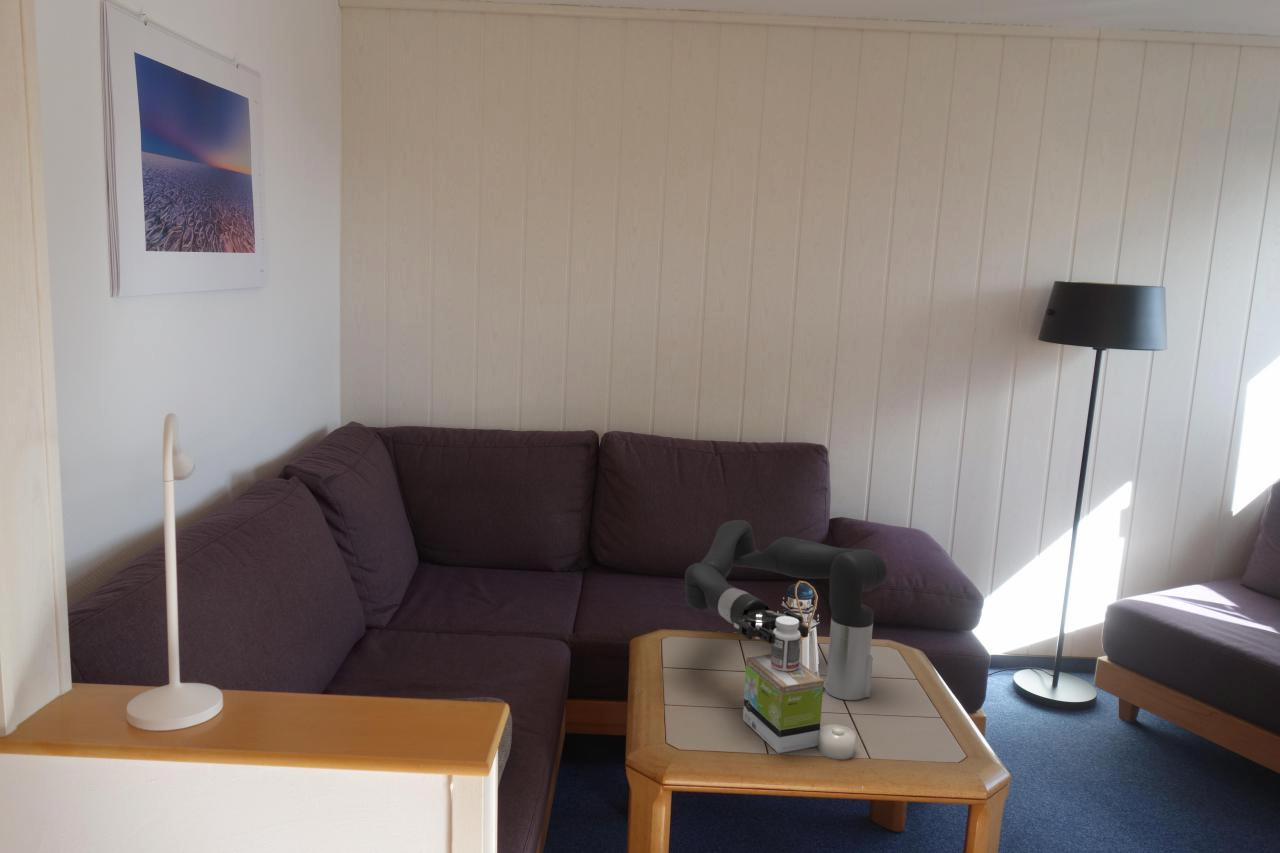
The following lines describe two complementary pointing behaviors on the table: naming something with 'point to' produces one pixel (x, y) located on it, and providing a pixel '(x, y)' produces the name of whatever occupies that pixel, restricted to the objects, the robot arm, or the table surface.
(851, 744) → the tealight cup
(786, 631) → the pill bottle
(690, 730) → the table surface
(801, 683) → the tea box
